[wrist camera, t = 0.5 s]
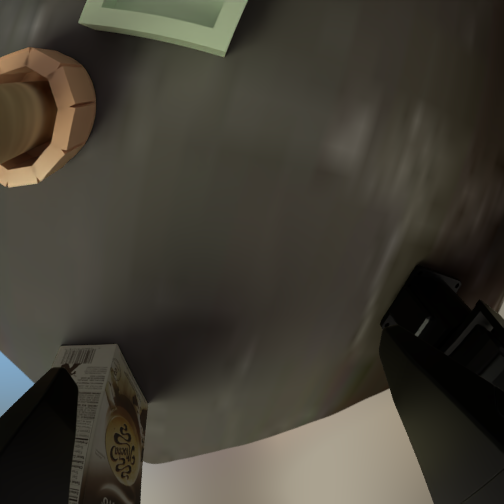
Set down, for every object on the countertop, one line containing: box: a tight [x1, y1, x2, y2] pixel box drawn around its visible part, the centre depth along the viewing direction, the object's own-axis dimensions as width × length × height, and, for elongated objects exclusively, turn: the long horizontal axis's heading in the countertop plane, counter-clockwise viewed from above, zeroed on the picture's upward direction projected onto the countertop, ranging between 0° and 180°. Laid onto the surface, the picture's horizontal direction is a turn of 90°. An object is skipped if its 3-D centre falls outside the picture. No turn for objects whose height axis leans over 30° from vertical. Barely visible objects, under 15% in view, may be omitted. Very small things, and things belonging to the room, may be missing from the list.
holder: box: [0, 47, 96, 187], centre depth 14 cm, size 8×8×4 cm
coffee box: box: [51, 344, 148, 504], centre depth 19 cm, size 9×6×16 cm
